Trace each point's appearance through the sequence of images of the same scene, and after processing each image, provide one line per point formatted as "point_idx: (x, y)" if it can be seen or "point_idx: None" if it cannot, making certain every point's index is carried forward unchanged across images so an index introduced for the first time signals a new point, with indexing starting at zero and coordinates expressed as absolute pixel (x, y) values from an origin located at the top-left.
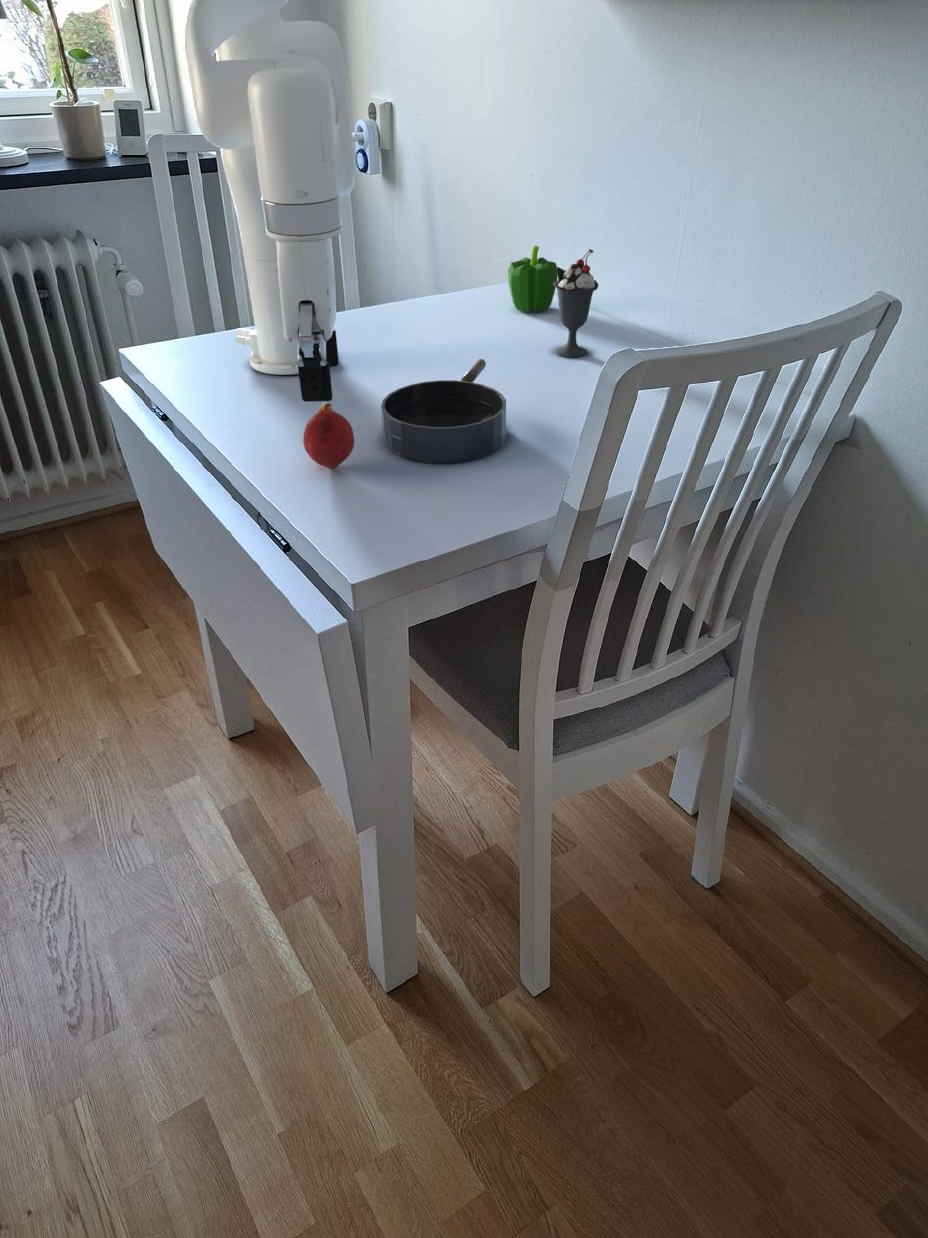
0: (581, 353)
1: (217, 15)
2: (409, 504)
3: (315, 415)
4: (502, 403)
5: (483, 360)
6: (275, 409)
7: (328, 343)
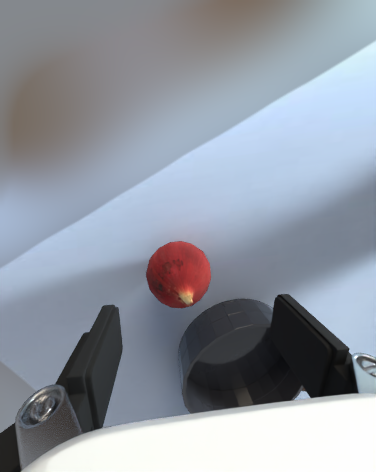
0: None
1: None
2: None
3: (179, 277)
4: None
5: None
6: (340, 175)
7: (299, 366)
